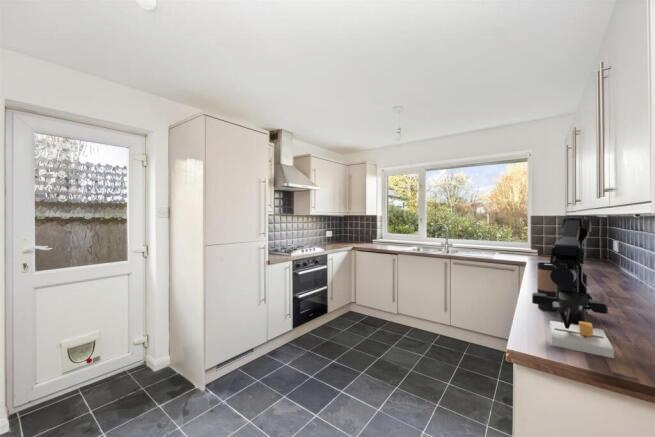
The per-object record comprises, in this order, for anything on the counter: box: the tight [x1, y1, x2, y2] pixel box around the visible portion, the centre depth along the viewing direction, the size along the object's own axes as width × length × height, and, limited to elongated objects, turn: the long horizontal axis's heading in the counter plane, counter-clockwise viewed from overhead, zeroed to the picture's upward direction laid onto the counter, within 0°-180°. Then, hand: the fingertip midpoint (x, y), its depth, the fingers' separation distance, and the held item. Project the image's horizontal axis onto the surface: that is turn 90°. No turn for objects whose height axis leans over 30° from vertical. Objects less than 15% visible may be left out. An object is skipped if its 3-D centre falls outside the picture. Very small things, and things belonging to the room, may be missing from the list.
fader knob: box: [579, 321, 594, 337], centre depth 92 cm, size 4×3×3 cm
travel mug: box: [536, 261, 559, 313], centre depth 125 cm, size 8×8×20 cm
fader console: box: [549, 320, 615, 359], centre depth 93 cm, size 18×14×3 cm
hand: (566, 328), depth 95 cm, fingers closed
